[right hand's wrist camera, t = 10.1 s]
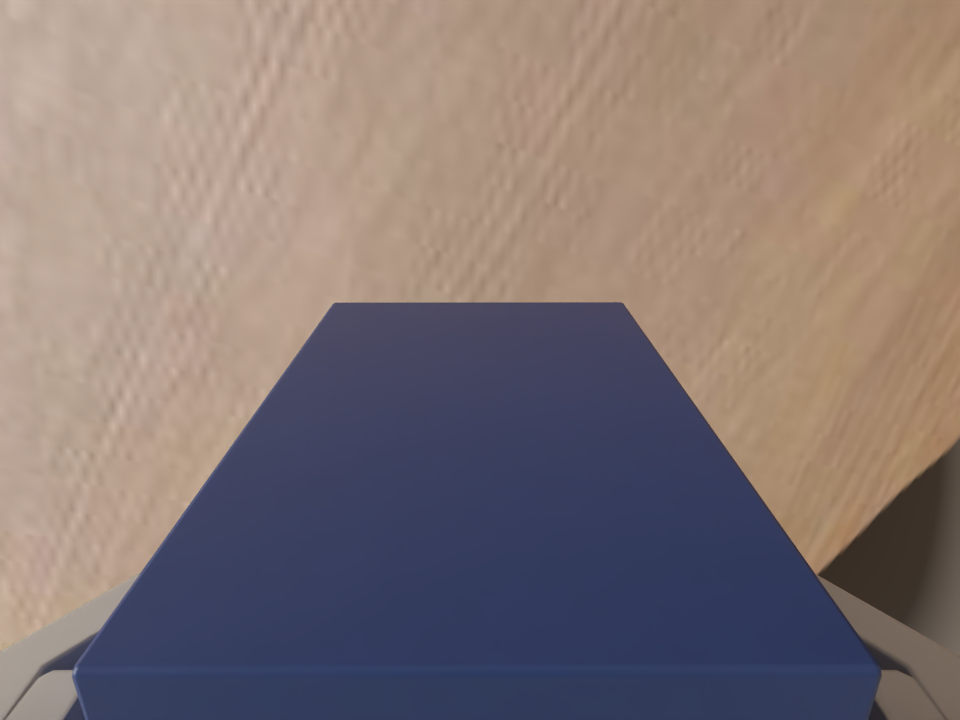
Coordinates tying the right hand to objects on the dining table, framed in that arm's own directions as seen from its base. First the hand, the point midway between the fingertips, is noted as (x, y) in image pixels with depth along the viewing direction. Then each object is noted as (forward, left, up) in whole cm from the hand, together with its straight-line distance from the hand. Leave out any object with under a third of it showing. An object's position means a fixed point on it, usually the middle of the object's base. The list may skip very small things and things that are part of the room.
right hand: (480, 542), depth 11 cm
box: (+8, 0, -4) cm, 8 cm away
